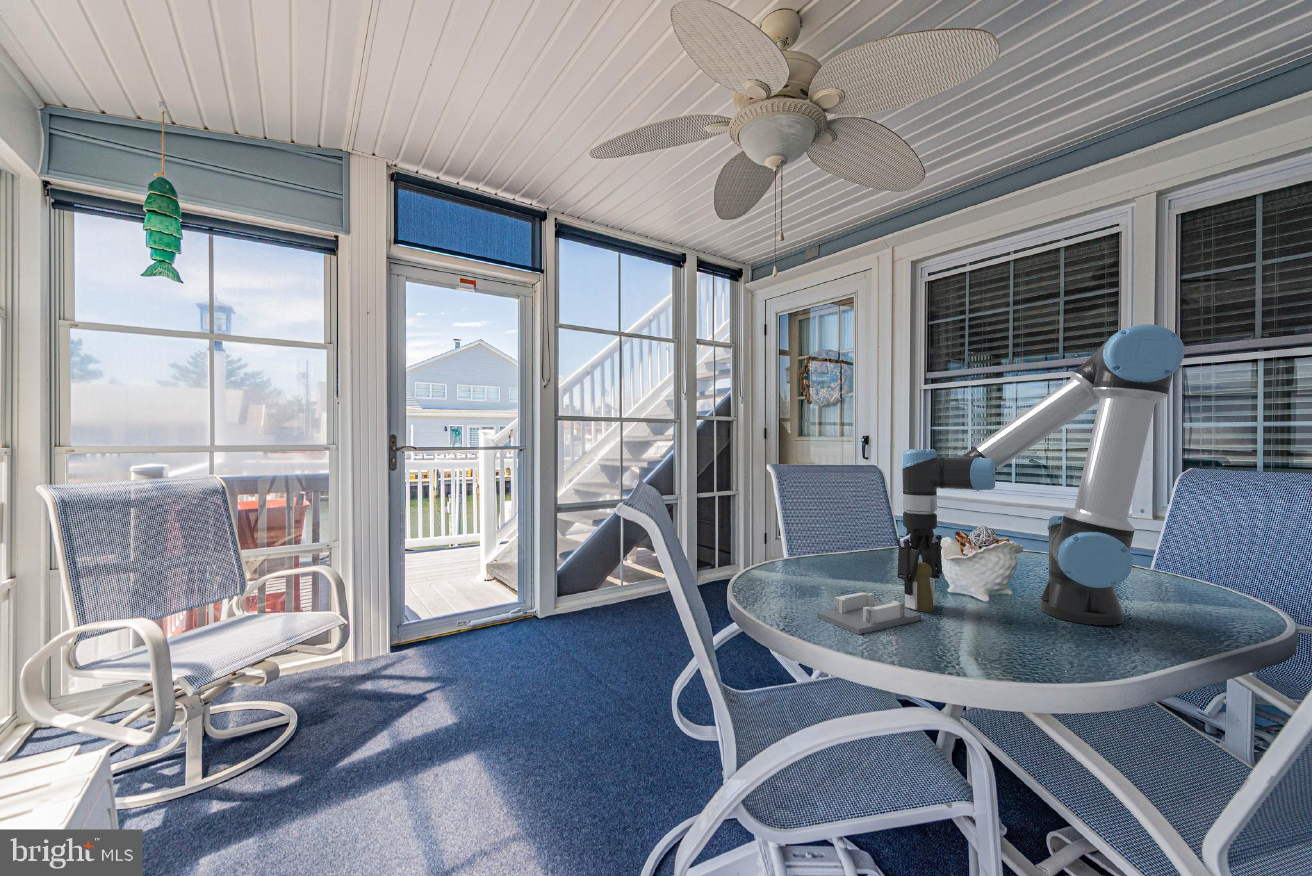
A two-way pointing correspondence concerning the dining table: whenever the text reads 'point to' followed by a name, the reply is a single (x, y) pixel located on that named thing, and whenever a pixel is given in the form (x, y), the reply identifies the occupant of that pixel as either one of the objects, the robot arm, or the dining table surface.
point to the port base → (866, 613)
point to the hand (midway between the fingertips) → (920, 605)
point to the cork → (924, 587)
